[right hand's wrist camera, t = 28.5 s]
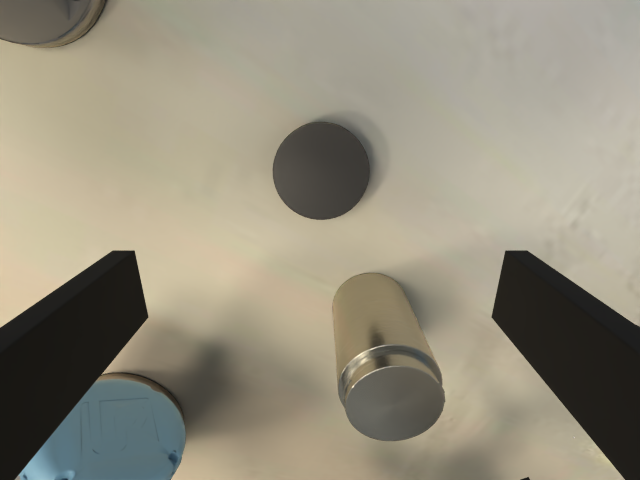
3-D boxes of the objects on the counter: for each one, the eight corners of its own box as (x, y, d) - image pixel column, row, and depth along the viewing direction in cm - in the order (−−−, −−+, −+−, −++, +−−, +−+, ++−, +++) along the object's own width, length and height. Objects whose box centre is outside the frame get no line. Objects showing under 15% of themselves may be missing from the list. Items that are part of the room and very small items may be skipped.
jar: (351, 346, 45) (365, 458, 31) (320, 291, 42) (320, 385, 28) (417, 320, 44) (465, 424, 29) (390, 260, 41) (428, 344, 26)
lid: (318, 100, 35) (318, 99, 32) (385, 167, 37) (389, 170, 35) (256, 172, 37) (253, 176, 35) (323, 230, 39) (323, 237, 37)
